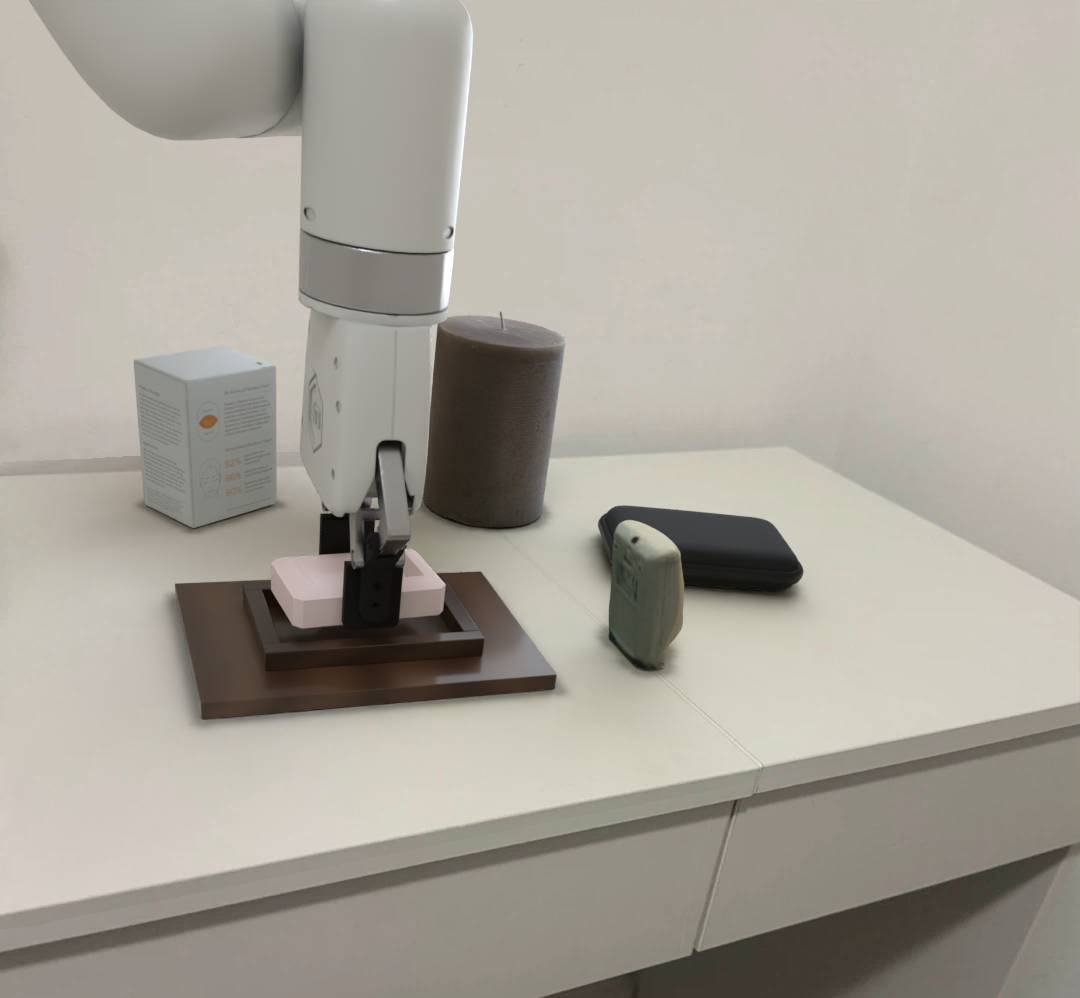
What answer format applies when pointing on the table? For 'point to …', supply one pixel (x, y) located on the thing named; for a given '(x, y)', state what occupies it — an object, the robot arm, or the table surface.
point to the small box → (207, 433)
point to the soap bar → (318, 588)
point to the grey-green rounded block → (645, 594)
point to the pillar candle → (491, 419)
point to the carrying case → (716, 547)
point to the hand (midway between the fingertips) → (357, 597)
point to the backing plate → (350, 652)
